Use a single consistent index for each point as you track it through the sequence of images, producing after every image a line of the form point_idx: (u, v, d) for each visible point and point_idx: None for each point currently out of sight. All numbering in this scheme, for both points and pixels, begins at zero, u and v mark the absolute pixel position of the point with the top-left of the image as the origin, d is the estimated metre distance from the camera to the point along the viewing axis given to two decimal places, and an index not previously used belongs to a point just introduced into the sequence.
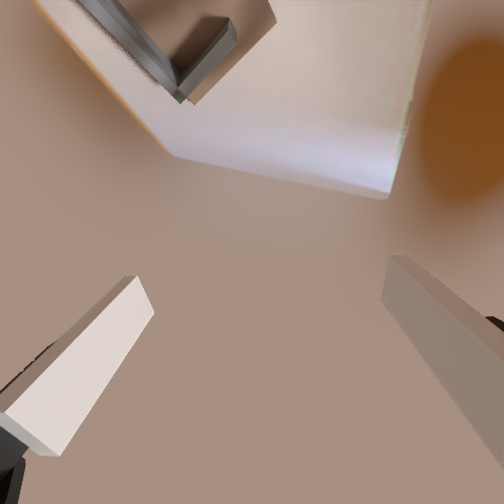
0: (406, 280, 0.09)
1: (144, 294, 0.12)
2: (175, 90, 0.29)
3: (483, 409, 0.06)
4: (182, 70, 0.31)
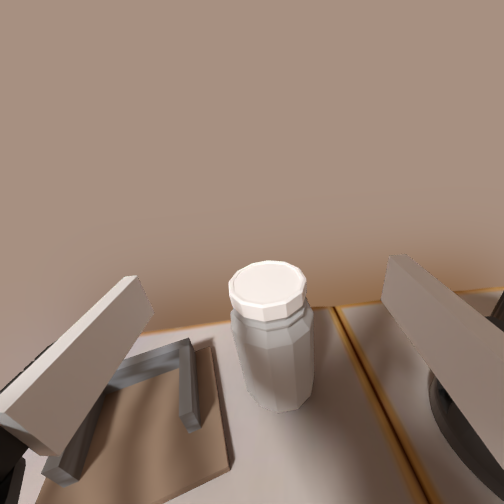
0: (406, 280, 0.09)
1: (144, 294, 0.12)
2: None
3: (483, 409, 0.06)
4: (105, 396, 0.31)
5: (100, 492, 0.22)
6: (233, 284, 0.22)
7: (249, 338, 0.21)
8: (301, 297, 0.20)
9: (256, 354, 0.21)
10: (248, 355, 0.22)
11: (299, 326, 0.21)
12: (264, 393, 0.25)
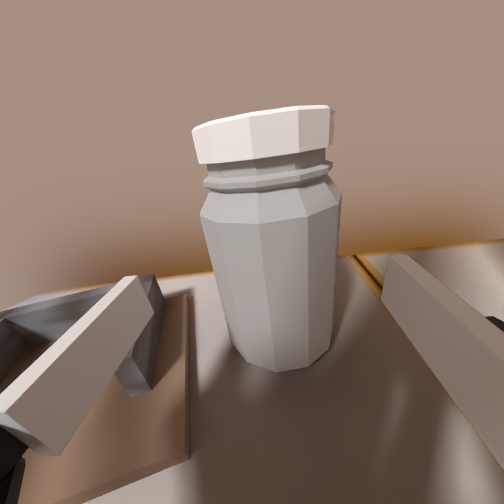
0: (406, 280, 0.09)
1: (144, 294, 0.12)
2: (8, 314, 0.20)
3: (483, 409, 0.06)
4: (28, 349, 0.21)
5: None
6: None
7: (226, 212, 0.11)
8: (327, 121, 0.10)
9: (239, 245, 0.12)
10: (225, 253, 0.12)
11: (320, 193, 0.11)
12: (255, 335, 0.15)
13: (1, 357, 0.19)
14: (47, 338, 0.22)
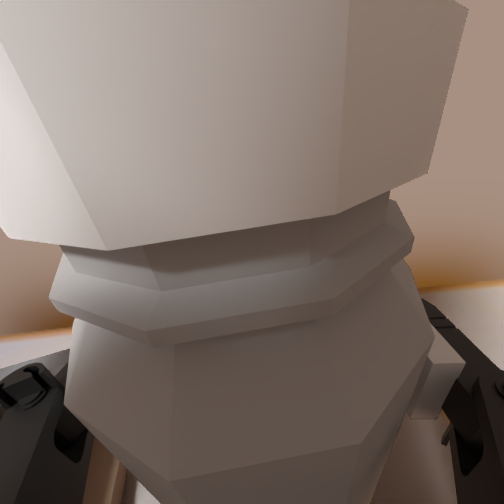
0: None
1: None
2: None
3: None
4: None
5: None
6: None
7: (87, 381, 0.04)
8: (448, 75, 0.02)
9: (136, 469, 0.04)
10: (115, 456, 0.05)
11: (387, 317, 0.04)
12: None
13: None
14: None
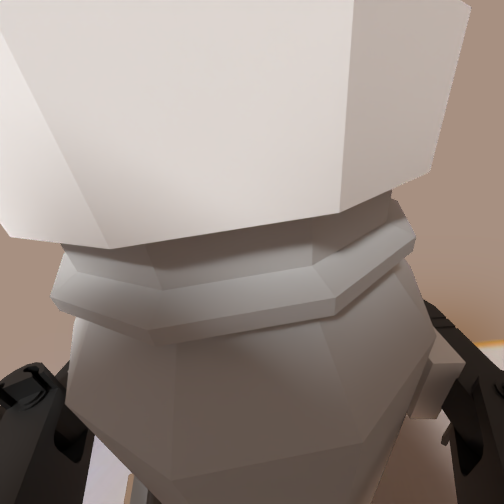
0: None
1: None
2: None
3: None
4: None
5: None
6: None
7: (88, 381, 0.04)
8: (450, 73, 0.02)
9: (138, 469, 0.04)
10: (116, 456, 0.04)
11: (389, 316, 0.04)
12: None
13: None
14: None
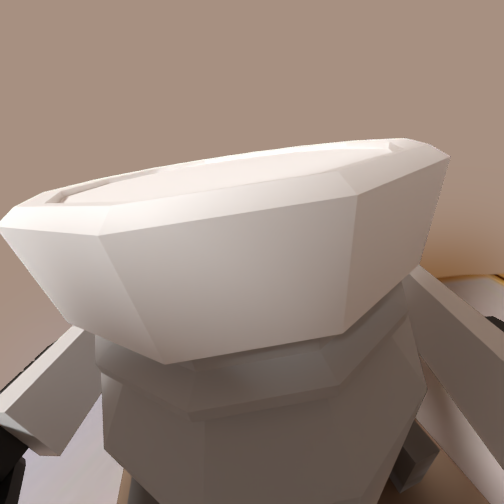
0: (406, 280, 0.09)
1: None
2: None
3: (483, 409, 0.06)
4: None
5: None
6: (90, 183, 0.05)
7: (125, 431, 0.04)
8: (434, 200, 0.03)
9: None
10: (143, 487, 0.05)
11: (385, 377, 0.04)
12: None
13: None
14: None
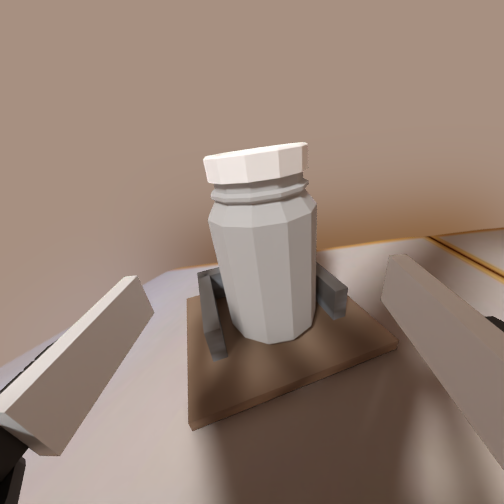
0: (406, 280, 0.09)
1: (144, 294, 0.12)
2: (209, 273, 0.28)
3: (483, 409, 0.06)
4: (217, 300, 0.29)
5: (259, 363, 0.20)
6: None
7: (228, 219, 0.16)
8: (300, 155, 0.14)
9: (238, 243, 0.16)
10: (228, 249, 0.17)
11: (297, 205, 0.16)
12: (251, 313, 0.19)
13: (215, 301, 0.26)
14: None
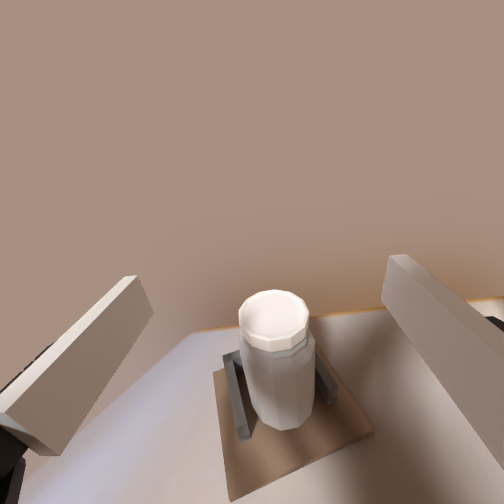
0: (406, 280, 0.09)
1: (144, 294, 0.12)
2: (231, 357, 0.36)
3: (483, 409, 0.06)
4: (237, 376, 0.37)
5: (274, 445, 0.28)
6: (242, 314, 0.25)
7: (256, 365, 0.23)
8: (304, 330, 0.22)
9: (262, 379, 0.24)
10: (255, 379, 0.24)
11: (302, 355, 0.23)
12: (268, 412, 0.27)
13: (238, 383, 0.34)
14: None
